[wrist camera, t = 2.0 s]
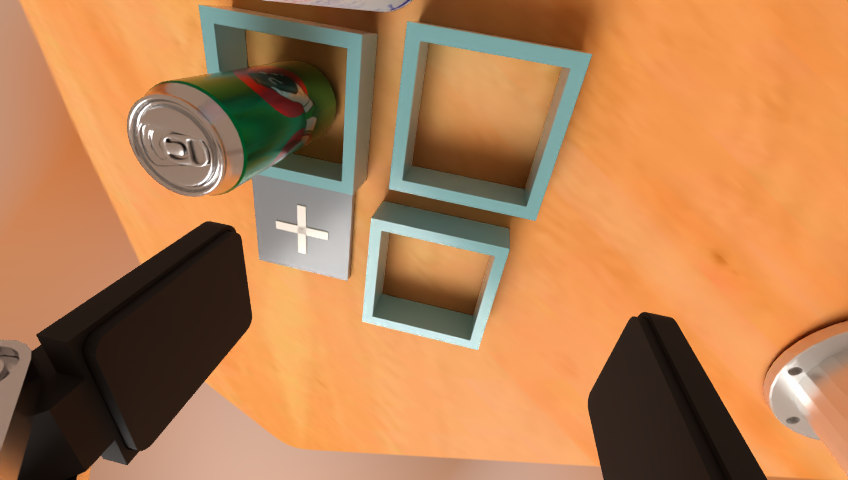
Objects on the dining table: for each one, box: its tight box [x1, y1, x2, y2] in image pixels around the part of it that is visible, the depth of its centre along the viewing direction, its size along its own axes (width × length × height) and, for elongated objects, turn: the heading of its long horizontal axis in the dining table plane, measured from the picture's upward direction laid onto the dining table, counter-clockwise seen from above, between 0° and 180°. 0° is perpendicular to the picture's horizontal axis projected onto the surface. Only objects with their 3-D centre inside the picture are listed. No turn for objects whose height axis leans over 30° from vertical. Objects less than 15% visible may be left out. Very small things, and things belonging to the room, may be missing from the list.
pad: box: [252, 175, 355, 281], centre depth 31 cm, size 8×8×1 cm
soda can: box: [127, 60, 336, 197], centre depth 21 cm, size 5×5×12 cm
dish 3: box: [362, 201, 510, 350], centre depth 30 cm, size 10×10×3 cm
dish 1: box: [199, 5, 378, 195], centre depth 25 cm, size 10×10×3 cm
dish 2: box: [389, 21, 592, 221], centre depth 23 cm, size 10×10×3 cm
